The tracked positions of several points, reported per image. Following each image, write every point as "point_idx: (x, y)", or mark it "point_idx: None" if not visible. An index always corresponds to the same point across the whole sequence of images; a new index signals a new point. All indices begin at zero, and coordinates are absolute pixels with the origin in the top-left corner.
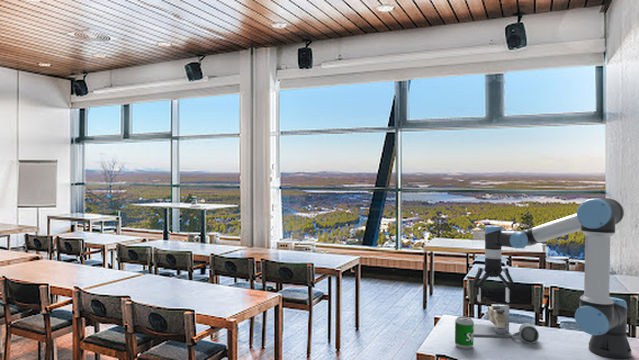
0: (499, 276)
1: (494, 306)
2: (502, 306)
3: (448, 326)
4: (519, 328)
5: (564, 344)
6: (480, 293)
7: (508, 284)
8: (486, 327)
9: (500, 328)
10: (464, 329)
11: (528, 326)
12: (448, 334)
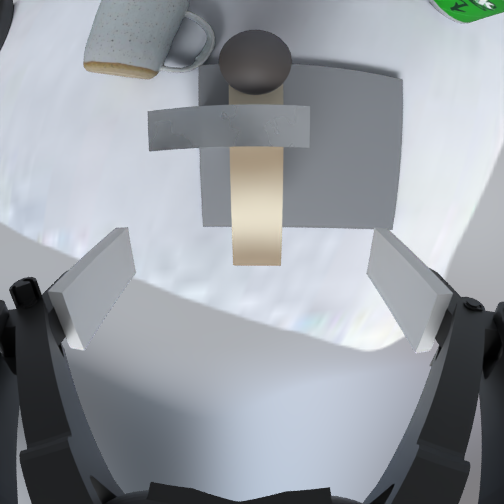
0: (89, 482)
1: (293, 105)
2: (213, 105)
3: (443, 218)
4: (158, 52)
5: (40, 49)
6: (412, 263)
7: (24, 331)
8: (296, 178)
9: None
10: None
11: None
12: (472, 120)
